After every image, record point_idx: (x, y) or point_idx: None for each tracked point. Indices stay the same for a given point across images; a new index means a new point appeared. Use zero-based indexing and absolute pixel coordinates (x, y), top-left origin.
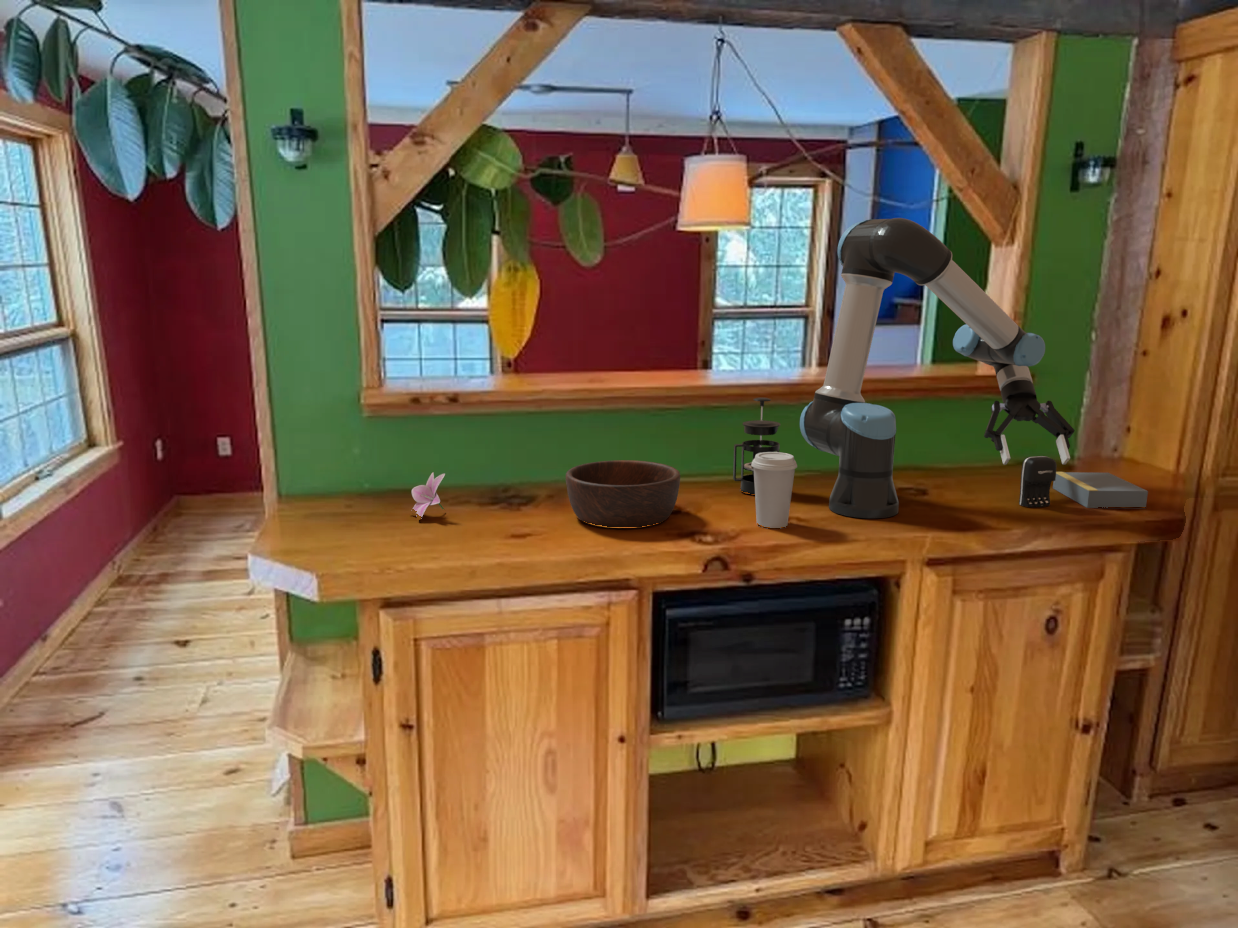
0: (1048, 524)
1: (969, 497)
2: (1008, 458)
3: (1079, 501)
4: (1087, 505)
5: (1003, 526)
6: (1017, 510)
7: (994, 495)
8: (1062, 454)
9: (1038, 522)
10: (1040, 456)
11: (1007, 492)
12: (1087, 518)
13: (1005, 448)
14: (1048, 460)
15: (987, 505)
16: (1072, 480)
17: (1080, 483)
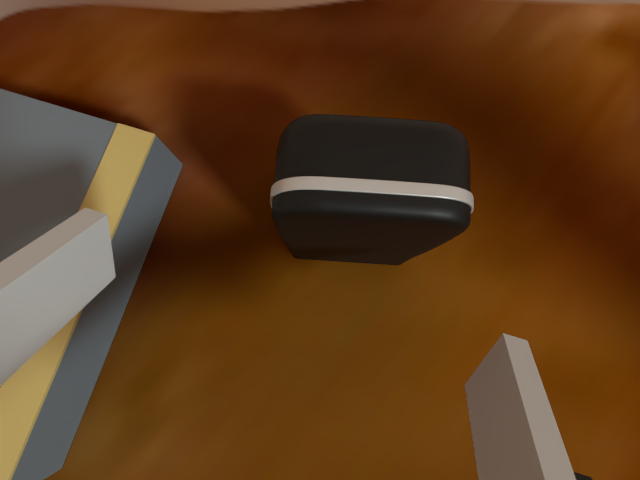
0: (456, 44)
1: None
2: (516, 338)
3: (156, 221)
4: (179, 161)
5: (611, 62)
6: None
7: (399, 427)
8: (70, 285)
9: (473, 68)
10: (357, 186)
11: (310, 458)
12: (286, 63)
13: (548, 422)
14: (350, 116)
15: (520, 294)
16: None
17: None
